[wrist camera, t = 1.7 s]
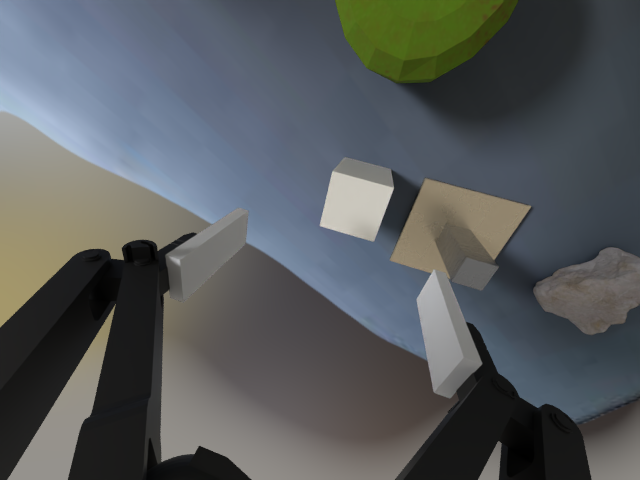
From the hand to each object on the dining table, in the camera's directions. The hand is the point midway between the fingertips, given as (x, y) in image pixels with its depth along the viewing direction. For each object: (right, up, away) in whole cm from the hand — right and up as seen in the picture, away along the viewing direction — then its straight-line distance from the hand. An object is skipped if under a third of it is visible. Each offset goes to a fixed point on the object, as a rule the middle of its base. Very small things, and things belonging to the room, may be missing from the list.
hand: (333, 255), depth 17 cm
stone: (+32, -3, +14) cm, 35 cm away
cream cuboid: (+4, +8, +14) cm, 17 cm away
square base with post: (+16, +2, +15) cm, 22 cm away
